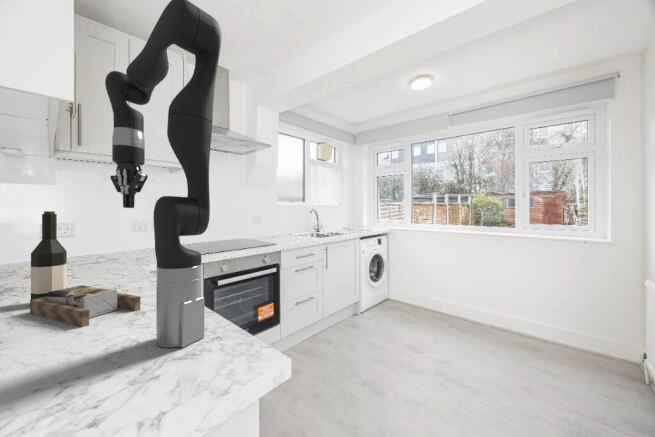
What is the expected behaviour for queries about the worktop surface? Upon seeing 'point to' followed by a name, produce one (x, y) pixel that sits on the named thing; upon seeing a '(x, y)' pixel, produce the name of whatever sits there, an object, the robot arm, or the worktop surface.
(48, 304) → the wooden frame
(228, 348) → the worktop surface
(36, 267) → the wine bottle
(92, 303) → the coffee box
